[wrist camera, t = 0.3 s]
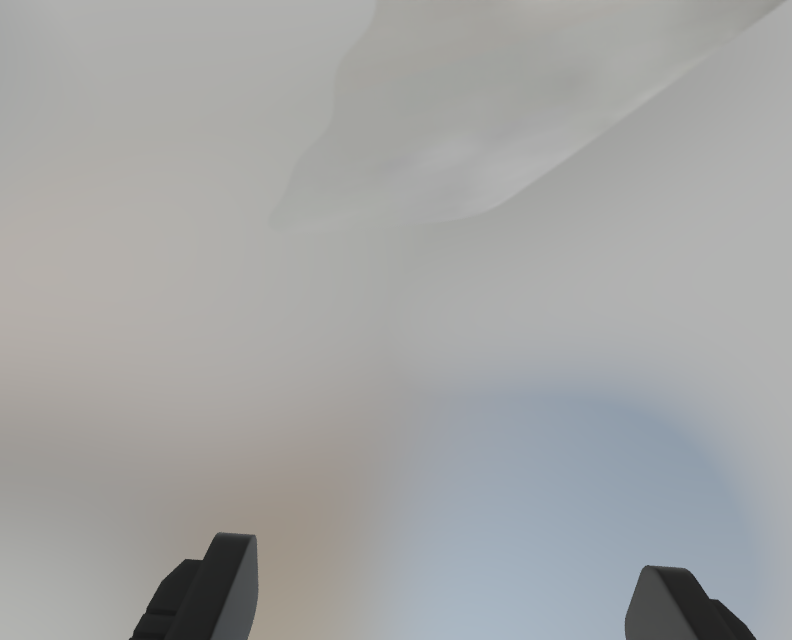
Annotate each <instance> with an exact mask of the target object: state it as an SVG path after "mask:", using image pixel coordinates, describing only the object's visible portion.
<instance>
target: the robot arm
mask: <svg viewBox="0 0 792 640" xmlns="http://www.w3.org/2000/svg"><path fill="white" fill-rule="evenodd" d="M257 599H258V563H257V539H256V536H255V535H249V534H235V533H222V532H219V533H217V534H216V535H215V537H214V539H213V540H212V543H211V544H210V546H209V549H208V551H207V553H206V555H205V557H204V559H203V560H191V559H185V560H184V561H183V562H182V563H181V564H180V565H179V566H178V567H177V568H175V569H174V570H173V571H172V572H171V573H170V574H169V575H168V576H167V577H166V578H165V579H164V580H163V581H162V582H161V584H160V585H159V587H158V589H157V591H156V593H155V594H154V596H153V598H152V600H151V601H150V603H149V605H148V607H147V610H146V613H145V614H143V616H142V617H141V619H140V621H139V623H138V625H137V626H136V628H135V630H134V633H133V636H132V638H130V639H129V640H247V639H248V636H249V633H250V630H251V626H252V623H253V620H254V615H255V611H256V605H257ZM625 635H626V640H756V638H755V637H754V636H753V634H752V633H751V632H750V630H749V629H748V628H747V626H746V625H745V624H744V623H743V622H742V621H741V620H739V618H737V617H736V616H735V615H734V614H733V613H732V612H731V611H730V610H729V609H727V607H725V606H724V605H723V604H722V603H721V602H720V601H719V600H714V599H709V597H708V596H707V594H706V593H705V591H704V590H703V589H702V587H701V585H700V584H699V582H698V581H697V580H696V578H695V577H694V576H693V574H692V573H691V572H690V571H688V570H687V569H685V568H676V567H662V566H649V565H647V566H645V567H644V568H643V569H642V571H641V573H640V576H639V579H638V582H637V585H636V588H635V591H634V594H633V597H632V600H631V603H630V605H629V609H628V611H627V614H626V618H625Z"/></svg>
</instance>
